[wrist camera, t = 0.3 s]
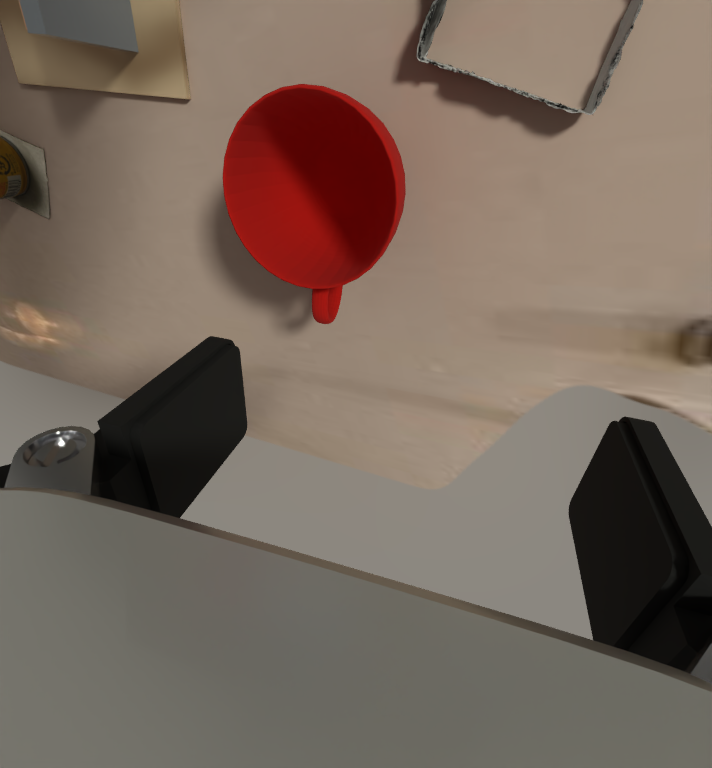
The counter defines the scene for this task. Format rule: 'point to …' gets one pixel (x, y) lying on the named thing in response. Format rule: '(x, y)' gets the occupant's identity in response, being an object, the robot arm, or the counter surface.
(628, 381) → the counter surface
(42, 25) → the slate tile
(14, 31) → the cork mat
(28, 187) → the condiment
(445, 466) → the counter surface
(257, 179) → the ceramic cup
